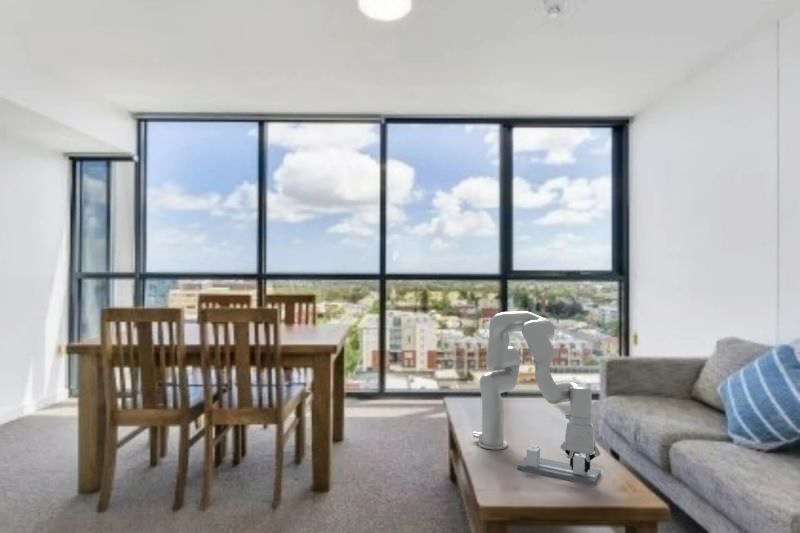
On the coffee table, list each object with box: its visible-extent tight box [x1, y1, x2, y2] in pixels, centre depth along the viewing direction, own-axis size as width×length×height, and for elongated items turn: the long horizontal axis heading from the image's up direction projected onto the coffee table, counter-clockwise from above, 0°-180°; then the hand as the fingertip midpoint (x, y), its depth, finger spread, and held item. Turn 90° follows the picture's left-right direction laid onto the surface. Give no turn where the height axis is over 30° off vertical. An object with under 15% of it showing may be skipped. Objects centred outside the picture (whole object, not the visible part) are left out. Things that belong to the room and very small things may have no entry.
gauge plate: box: [517, 444, 602, 486], centre depth 195 cm, size 28×12×8 cm, turn 59°
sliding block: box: [573, 453, 586, 476], centre depth 190 cm, size 4×7×6 cm, turn 149°
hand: (579, 469), depth 189 cm, fingers closed on sliding block, 4 cm apart
